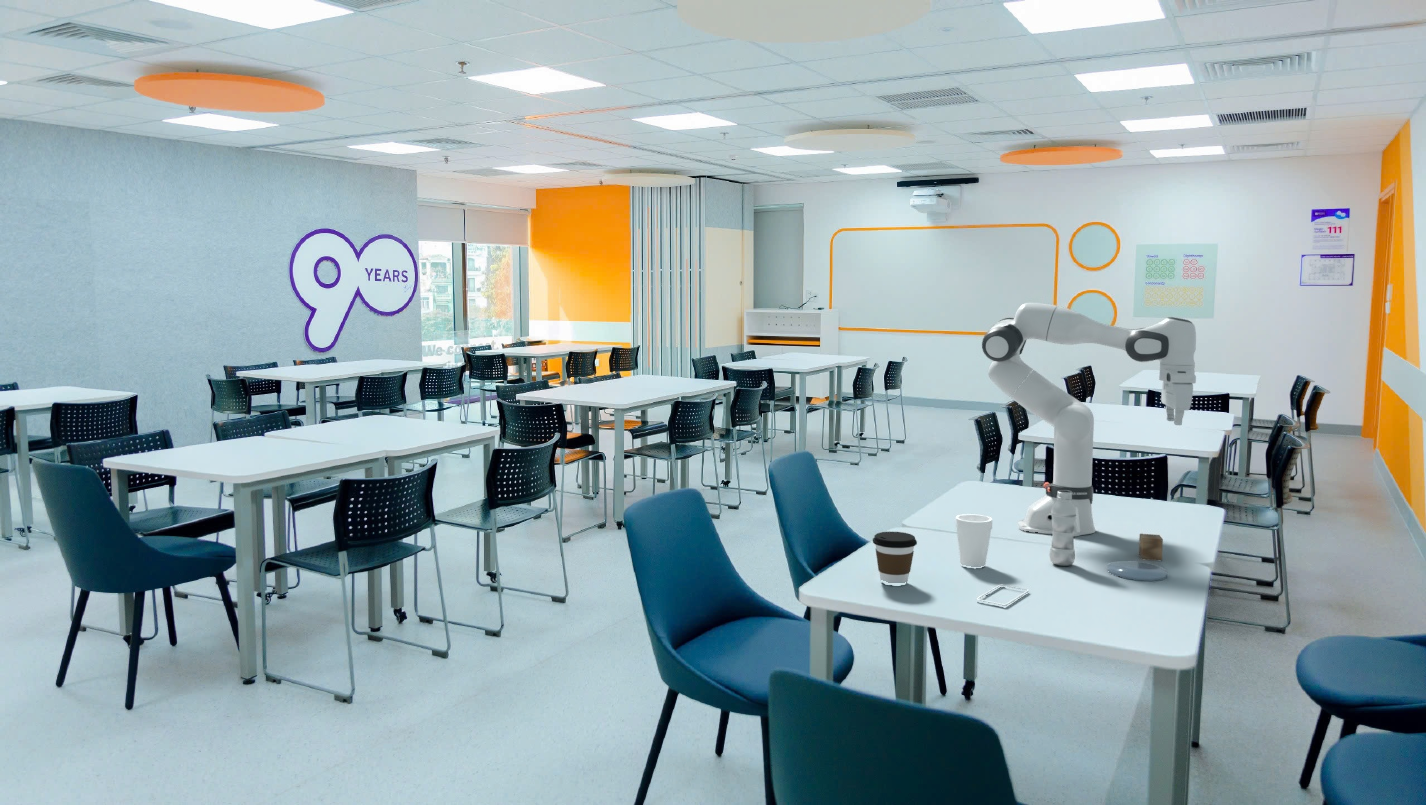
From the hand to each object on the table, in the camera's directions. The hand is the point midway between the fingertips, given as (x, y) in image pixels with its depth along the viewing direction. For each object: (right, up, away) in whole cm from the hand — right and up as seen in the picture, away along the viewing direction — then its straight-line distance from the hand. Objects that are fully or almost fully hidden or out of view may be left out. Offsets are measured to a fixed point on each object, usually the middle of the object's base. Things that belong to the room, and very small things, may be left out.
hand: (1174, 422), depth 265 cm
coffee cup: (-86, -40, -32) cm, 100 cm away
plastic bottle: (-38, -38, -17) cm, 57 cm away
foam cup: (-62, -38, -17) cm, 75 cm away
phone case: (-63, -41, -44) cm, 87 cm away
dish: (-22, -38, -25) cm, 51 cm away
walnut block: (-11, -37, -10) cm, 40 cm away
